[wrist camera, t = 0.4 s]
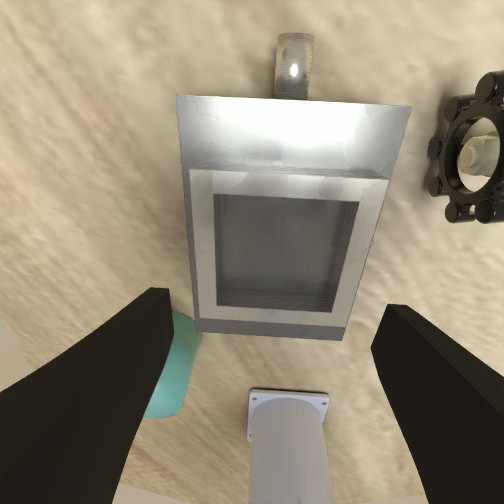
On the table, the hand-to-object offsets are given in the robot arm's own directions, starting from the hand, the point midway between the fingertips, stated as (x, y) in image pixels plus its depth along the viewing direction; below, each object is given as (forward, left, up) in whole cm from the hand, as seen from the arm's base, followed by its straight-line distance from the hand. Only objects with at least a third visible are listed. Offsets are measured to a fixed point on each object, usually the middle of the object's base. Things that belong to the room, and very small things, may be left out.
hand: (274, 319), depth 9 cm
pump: (-11, +8, -10) cm, 17 cm away
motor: (+1, 0, -10) cm, 10 cm away
